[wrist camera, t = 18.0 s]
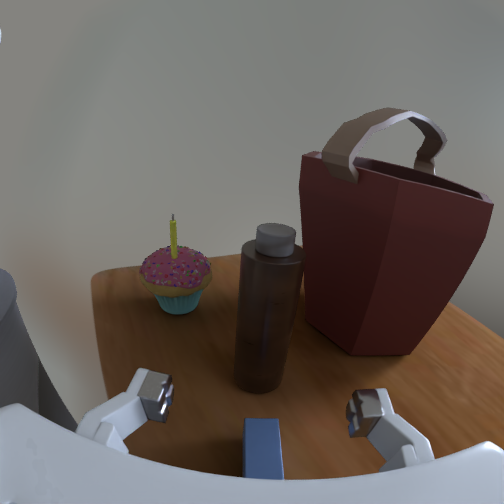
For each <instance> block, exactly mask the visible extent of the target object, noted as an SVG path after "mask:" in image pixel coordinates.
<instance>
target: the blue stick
mask: <svg viewBox="0 0 504 504" xmlns="http://www.w3.org/2000/svg"><path fill="white" fill-rule="evenodd" d="M243 478H254V479H271V480H284V473H283V463H282V452H281V441H280V431H279V421H278V419H258V418H245V419H244V427H243Z"/></svg>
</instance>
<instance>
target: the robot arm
mask: <svg viewBox="0 0 504 504" xmlns="http://www.w3.org/2000/svg"><path fill="white" fill-rule="evenodd" d="M0 42H1V28H0ZM171 383H172V375H169V374H164V373H160V372H156V371H152V370H148V369H144V368H139V369H138V370H137V371H136V373H135V375H134V377H133V379H132V381H131V383H130V385H129V387H128V389H127V391H126V393H125V392H122V393H120V394H119V395H117V396H115V397H113V398H111V399H110V400H108V401H106V402H105V403H103V404H101V405H99V406H97V407H96V408H93V409H92V410H90V411H88V412H86V413H85V415H84V416H83V418H82V420H81V422H80V424H79V425H78V427H77V429H76V431H75V433H74V432H72V431H70V430H68V429H66V428H63V427H61V426H59V425H57V424H55V423H54V422H52V421H50V420H48V419H46V418H44V417H42V416H41V415H39V414H37V413H35V412H34V411H32V410H30V409H29V408H27V407H25V406H24V405H22V404H19V403H14V404H10V405H7V406H4V407H2V408H0V504H504V450H502V449H501V448H500V447H498V446H497V445H495V444H494V443H492V442H490V441H485V442H482V443H480V444H477V445H475V446H473V447H470V448H467V449H465V450H462V451H459V452H457V453H454V454H451V455H448V456H445V457H442V458H438V459H435V458H434V455H433V452H432V449H431V446H430V443H429V440H428V439H427V438H426V437H424V436H423V435H422V434H421V433H420V432H418V431H417V430H416V429H415V428H414V427H412V426H411V425H410V424H409V423H407V422H406V421H405V420H404V419H403V418H401V417H400V416H399V415H398V414H395V413H394V410H393V407H392V404H391V401H390V398H389V396H388V393H387V390H386V389H385V388H383V389H364V390H355V391H354V392H353V394H352V399H351V400H349V401H348V404H347V407H346V418H347V420H348V421H349V422H350V424H349V426H348V429H349V435H350V438H355V437H366V438H367V439H368V440H369V441H370V442H371V443H372V445H373V446H374V447H375V448H376V449H377V450H378V452H379V453H380V454H381V455H382V456H383V457H384V458H385V460H386V461H387V462H386V463H385V464H384V465H383V466H382V467H381V468H380V469H379V473H374V474H367V475H360V476H352V477H343V478H331V479H314V480H271V479H254V478H242V477H233V476H224V475H217V474H210V473H204V472H199V471H193V470H188V469H183V468H179V467H174V466H170V465H166V464H162V463H158V462H154V461H150V460H147V459H143V458H140V457H137V456H134V455H130V454H128V452H129V451H128V449H127V447H126V445H125V444H124V442H123V441H122V440H123V439H125V438H126V437H127V436H128V435H130V434H131V433H132V432H134V431H135V430H136V429H137V428H139V427H140V426H141V425H143V424H144V423H145V422H146V421H148V419H149V420H153V421H158V422H162V423H166V420H167V417H168V414H169V409H168V407H169V406H170V405H172V402H173V398H174V386H173V385H172V384H171Z"/></svg>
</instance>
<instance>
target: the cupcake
mask: <svg viewBox="0 0 504 504" xmlns="http://www.w3.org/2000/svg"><path fill="white" fill-rule="evenodd" d="M170 238H171V245H170V246H167V247H166V248H160V249H159V250H157V251H156V252H154V253H152V254H151V255H150V256H148V258H145V261H144V262H143V263H142V266H141V268H140V272H139V273H140V280H141V282H142V283H143V284H144V286H145V287H146V288H147V289H148V290H149V291H150V292H152V293H153V294H154V295H155V297H156V298H157V300H158V302H159V304H160V306H161V308H162V309H163V310H164V311H166V312H168V313H171V314H185V313H189V312H191V311H193V310H194V309H195V308H196V307H197V305H198V302H199V299H200V296H201V293H202V291H203V289H205V288H206V287H207V286H208V284H209V283H210V281H211V279H212V271H211V267H210V265H211V263H210V262H209V261H208V260H207V257H204V256H203V254H202V253H200V252H198V251H195V250H193V249H189V248H188V247H182V246H177V233H176V220H174V214H172V220H171V221H170Z"/></svg>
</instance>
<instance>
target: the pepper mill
mask: <svg viewBox="0 0 504 504" xmlns="http://www.w3.org/2000/svg"><path fill="white" fill-rule="evenodd" d="M295 237H296V231H295V229H293V228H292V227H289V226H286V225H283V224H276V223H266V224H261V225H259V226H258V227H257V233H256V239H255V240H251V241H248V242H246V243H245V244H244V245H243V246H242V252H241V265H240V280H239V296H238V311H237V327H236V344H235V361H234V379H235V381H236V383H237V384H238V385H239V386H240V387H241V388H242V389H244V390H246V391H249V392H252V393H266V392H270V391H272V390H274V389H275V388H277V387H278V385H279V384H280V382H281V379H282V375H283V371H284V366H285V362H286V357H287V353H288V348H289V344H290V339H291V334H292V329H293V325H294V320H295V315H296V309H297V304H298V299H299V294H300V288H301V283H302V277H303V272H304V266H305V260H306V252H305V251H304V250H303V249H302V248H301V247H300V246H298V245H296V244H295Z"/></svg>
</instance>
